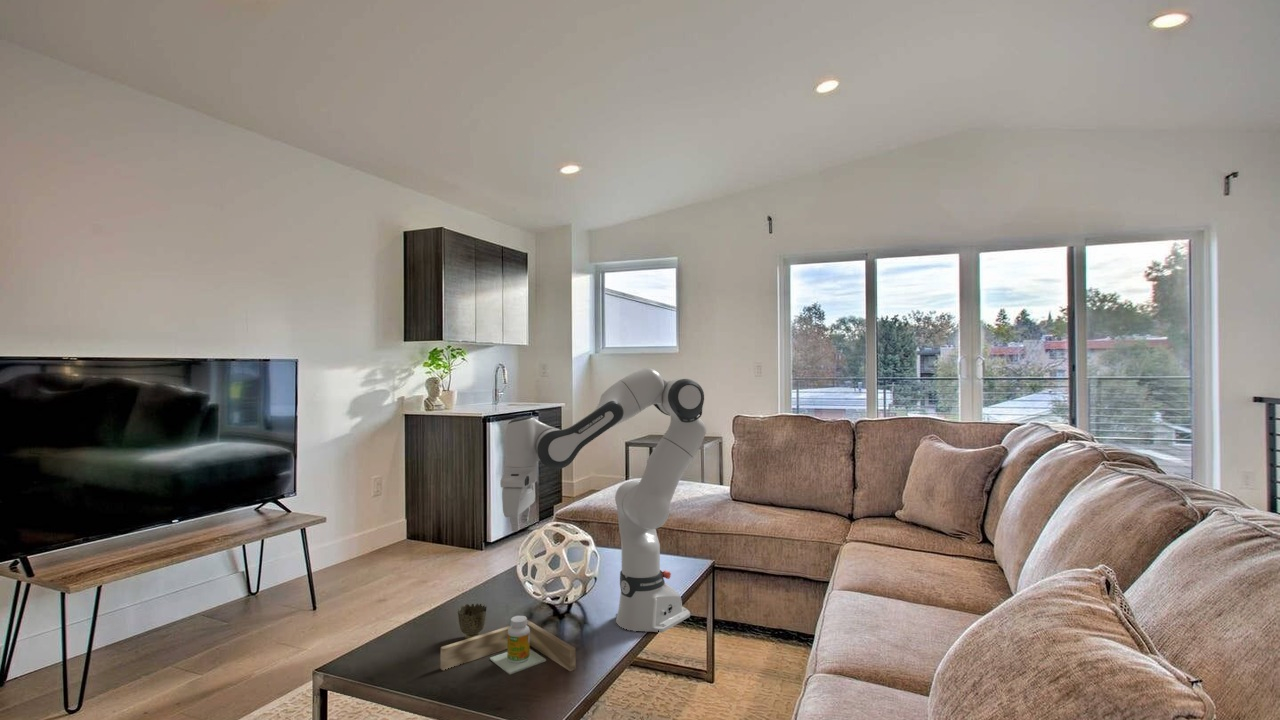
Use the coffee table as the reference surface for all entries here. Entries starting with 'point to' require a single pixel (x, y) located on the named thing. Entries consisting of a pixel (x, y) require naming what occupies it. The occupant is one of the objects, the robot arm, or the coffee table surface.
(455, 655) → the oak corner walls
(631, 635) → the coffee table surface
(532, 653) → the mat
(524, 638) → the supplement bottle
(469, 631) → the cup
